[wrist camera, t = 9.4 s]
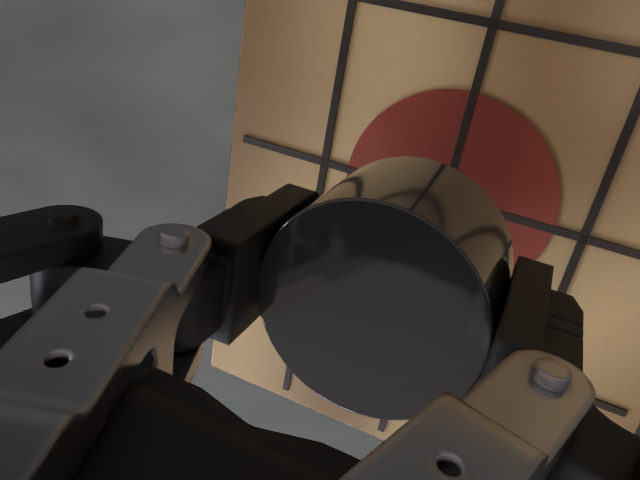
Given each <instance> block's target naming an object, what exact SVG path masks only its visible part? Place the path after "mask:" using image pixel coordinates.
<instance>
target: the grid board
mask: <svg viewBox="0 0 640 480" xmlns="http://www.w3.org/2000/svg"><path fill="white" fill-rule="evenodd" d="M403 156H410V157H421V158H426V159H431V160H435V161H438V162H441V163H444V164H446V165H449V166H451V167H453V168H455V169H457V170H459V171H461V172H462V173H464V174H465V175H467V176H468V177H470V178H471V179H472V180H474V181H475V182H476V183H477V184H478V185H479V186H481V187H482V188H483V189H484V190H485V192H486V193H487V194H488V195H489V196H490V197H491V198H492V199H493V201H494V202H495V204H496V205H497V207H498V208H499V210H500V211H501V213H502V215H503V217H504V219H505V221H506V224H507V227H508V229H509V232H510V235H511V240H512V246H513V260H514V263H513V269H514V267H515V264H516V261H517V259H518V256H519V255H520V256H523V257H526V258H530V259H533V260H536V261H539V262H542V263H546V264H549V265H552V266H554V270H553V278H552V286H551V289H552V290H555V291H558V292H562V293H565V294H568V295H571V296H573V297H574V298H575V300H576V301H577V303H578V304H579V306H580V307H581V309H582V310H583V311H584V320H583V373H584V374H585V375H586V376H587V377H588V378H589V380H590V381H591V382H592V384H593V386H594V388H595V392H596V398H595V400H594V402H593V404H594V405H595V406H596V407H597V408H598V409H599V410H600V411H601V412H602V413H603V414H604V415H605V416H607V417H608V418H609V419H611V420H612V421H613V422H615V423H616V424H618V425H620V426H621V427H623V428H624V429H626V430H628V431H630V432H631V433H633V434H635V432H636V430H637V429H638V427H639V425H640V0H245V11H244V21H243V32H242V42H241V53H240V63H239V74H238V85H237V95H236V106H235V116H234V127H233V137H232V148H231V158H230V169H229V179H228V190H227V201H226V210H227V209H228V208H232V206H234V205H235V204H237V203H239V202H241V201H242V200H244V199H248V198H253V197H258V196H262V195H263V196H268V195H269V194H271V193H273V192H274V191H276V190H278V189H279V188H281V187H283V186H284V185H286V184H288V183H290V184H293V185H297V186H300V187H303V188H306V189H309V190H313V191H316V192H318V193H319V197H320V196H321V195H323V194H324V193H325V192H327V191H328V190H330V189H331V188H332V187H334V186H335V185H336V184H338V183H339V182H341V181H342V180H343V179H345V178H346V177H347V176H349V175H350V174H352V173H353V172H354V171H356V170H357V169H359V168H361V167H363V166H365V165H367V164H369V163H372V162H375V161H378V160H381V159H386V158H391V157H403ZM512 272H513V271H512ZM211 365H212V366H214V367H216V368H218V369H221V370H223V371H225V372H227V373H230V374H232V375H234V376H237V377H239V378H241V379H244V380H246V381H248V382H251V383H253V384H255V385H257V386H260V387H262V388H264V389H267V390H269V391H271V392H274V393H276V394H278V395H280V396H283V397H285V398H287V399H290V400H292V401H294V402H297V403H299V404H301V405H303V406H306V407H308V408H310V409H313V410H315V411H317V412H320V413H322V414H324V415H327V416H329V417H331V418H333V419H336V420H338V421H340V422H343V423H345V424H347V425H350V426H352V427H354V428H356V429H359V430H361V431H363V432H366V433H368V434H370V435H373V436H375V437H377V438H379V439H382V440H384V441H385V440H386V439H387V438H388V437H389V436H391V435H392V434H393V433H394V432H395V431H396V430H398V429H399V428H400V427H401V426H402V425H404V424H405V423H406V422H407V421H408V420H383V419H376V418H371V417H367V416H363V415H359V414H356V413H353V412H350V411H348V410H345V409H343V408H341V407H339V406H337V405H335V404H332V403H331V402H329V401H327V400H326V399H324V398H322V397H321V396H319V395H318V394H316V393H315V392H314V391H312V390H311V389H310V388H308V387H307V386H306V385H305V384H304V383H303V382H302V381H301V380H299V379H298V378H297V377H296V376H295V375H294V373H293V372H292V371H291V370H290V369H289V368H288V367H287V366H286V364H285V363H284V362H283V360H282V359H281V357H280V356H279V355H278V353H277V351H276V350H275V348H274V346H273V345H272V343H271V341H270V339H269V336H268V334H267V332H266V330H265V327H264V324H263V321H262V318H261V315H260V316H259V317H258V318H257V319H256V320H255V321H254V322H253V323H252V324H251V325H250V326H249V327H248V328H247V329H246V330H245V331H244V332H243V333H242V334H240V335H239V336H238V337H237V338H236V339H235V340H234V341H233V342H232V343H231V344H230V345H229V346H228V345H226V344H224V343H221V342H219V341H217V340H214V339H213V348H212V359H211Z"/></svg>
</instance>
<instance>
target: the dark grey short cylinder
mask: <svg viewBox="0 0 640 480" xmlns="http://www.w3.org/2000/svg"><path fill="white" fill-rule="evenodd" d="M513 263H514V260H513V246H512V240H511V235H510V232H509V229H508V227H507V224H506V221H505V219H504V217H503V215H502V213H501V211H500V210H499V208H498V207H497V205H496V204H495V202H494V201H493V199H492V198H491V197H490V196H489V195H488V194H487V193H486V192H485V190H484V189H483V188H482V187H481V186H479V185H478V184H477V183H476V182H475V181H474V180H472V179H471V178H470V177H468V176H467V175H465V174H464V173H462V172H461V171H459V170H457V169H455V168H453V167H451V166H449V165H446V164H444V163H441V162H438V161H435V160H431V159H426V158H421V157H410V156H403V157H391V158H386V159H381V160H378V161H375V162H372V163H369V164H367V165H365V166H363V167H361V168H359V169H357V170H356V171H354V172H353V173H352V174H350V175H349V176H347V177H346V178H345V179H343V180H342V181H341V182H339V183H338V184H336V185H335V186H334V187H332V188H331V189H330V190H328V191H327V192H325V193H324V194H323V195H321V196H320V197H319V198H317V199H316V200H315V201H313V202H312V203H310V204H309V205H308V206H306V207H305V208H304V209H302V210H301V211H300V212H298V213H297V214H295V215H294V216H293V217H291V218H290V219H289V220H288V221H287V222H286V223H285V224H284V225H283V226H281V227H280V228H279V230H278V231H277V232H276V234H275V235H274V236H273V238H272V239H271V241H270V243H269V245H268V247H267V248H266V250H265V253H264V256H263V259H262V262H261V267H260V274H259V282H258V303H259V308H260V313H261V318H262V321H263V324H264V327H265V330H266V332H267V334H268V336H269V339H270V341H271V343H272V345H273V346H274V348H275V350H276V351H277V353H278V355H279V356H280V357H281V359H282V360H283V362H284V363H285V364H286V366H287V367H288V368H289V369H290V370H291V371H292V372H293V373H294V375H295V376H296V377H297V378H298V379H299V380H301V381H302V382H303V383H304V384H305V385H306V386H307V387H308V388H310V389H311V390H312V391H314V392H315V393H316V394H318V395H319V396H321V397H322V398H324V399H326V400H327V401H329V402H331V403H332V404H335V405H337V406H339V407H341V408H343V409H345V410H348V411H350V412H353V413H356V414H359V415H363V416H367V417H371V418H376V419H383V420H410V419H411V418H412V417H413V416H414V415H415V414H417V413H418V412H419V411H420V410H421V409H423V408H424V407H425V406H426V405H427V404H428V403H430V402H431V401H432V400H433V399H434V398H436V397H437V396H438V395H439V394H441V393H443V392H445V391H448V392H450V393H452V394H453V395H455V396H456V397H458V398H459V399H461V398H462V397H463V396H464V395H465V394H466V393H468V392H469V391H470V390H471V389H472V388H473V387H474V386H475V385H476V383H477V382H478V380H479V379H480V376H481V374H482V371H483V368H484V365H485V363H486V360H487V357H488V354H489V351H490V349H491V346H492V343H493V340H494V336H495V332H496V329H497V325H498V321H499V318H500V314H501V311H502V307H503V303H504V300H505V296H506V292H507V289H508V285H509V282H510V278H511V275H512V271H513Z"/></svg>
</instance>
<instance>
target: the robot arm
mask: <svg viewBox="0 0 640 480" xmlns="http://www.w3.org/2000/svg"><path fill="white" fill-rule="evenodd" d="M317 198H319V193H318V192H316V191H313V190H309V189H306V188H303V187H300V186H297V185H293V184H290V183H288V184H286V185H284V186H283V187H281V188H279V189H278V190H276V191H274V192H273V193H271V194H269V195H268V196H263V195H262V196H258V197H253V198H248V199H244V200H242V201H241V202H239V203H237V204H235V205H234V206H232V208H228V209H227V210H225V211H223V212H222V213H221V214H218V215H216V216H215V217H213V218H211V219H209V220H208V221H206V222H204V223H203V224H201V225H199V226H197V227H193V226H189V225H184V224H174V223H173V224H159V225H154V226H151V227H148V228H146V229H144V230H143V231H142V232H140V233H139V235H138V236H137V237H136V238H135V239H134V240H133V241H131V240H125V239H119V238H113V237H107V236H103V219H102V216H101V215H100V214H99V213H98V212H96V211H94V210H92V209H90V208H86V207H82V206H75V205H55V206H48V207H43V208H39V209H34V210H30V211H25V212H20V213H16V214H11V215H7V216H2V217H0V284H1V283H4V282H7V281H10V280H14V279H17V278H20V277H24V276H27V275H30V288H31V301H32V308H31V309H28V310H25V311H22V312H19V313H17V314H14V315H11V316H8V317H5V318H2V319H0V480H640V437H638V436H636V435H635V434H633V433H631V432H630V431H628V430H626V429H624V428H623V427H621V426H620V425H618V424H616V423H615V422H613V421H612V420H611V419H609V418H608V417H607V416H605V415H604V414H603V413H602V412H601V411H600V410H599V409H598V408H597V407H596V406H595V405H594V404H593V402H594V400H595V398H596V392H595V388H594V386H593V384H592V382H591V381H590V380H589V378H588V377H587V376H586V375H585V374H584V373H583V320H584V311H583V310H582V309H581V307H580V306H579V304H578V303H577V301H576V300H575V298H574V297H573V296H571V295H568V294H565V293H562V292H558V291H555V290H552V289H551V286H552V278H553V270H554V266H552V265H549V264H546V263H542V262H539V261H536V260H533V259H530V258H526V257H523V256H520V255H519V256H518V259H517V261H516V264H515V267H514V269H513V272H512V275H511V278H510V282H509V285H508V289H507V292H506V296H505V300H504V303H503V307H502V311H501V314H500V318H499V321H498V325H497V329H496V332H495V336H494V340H493V343H492V346H491V349H490V351H489V354H488V357H487V360H486V363H485V365H484V368H483V371H482V374H481V376H480V379H479V380H478V382H477V383H476V385H475V386H474V387H473V388H472V389H471V390H470V391H469V392H468V393H466V394H465V395H464V396H463V397H462V398H461V399H459V398H458V397H456V396H455V395H453V394H452V393H450V392H448V391H445V392H443V393H441V394H439V395H438V396H437V397H436V398H434V399H433V400H432V401H431V402H430V403H428V404H427V405H426V406H425V407H424V408H423V409H421V410H420V411H419V412H418V413H417V414H415V415H414V416H413V417H412V418H411V419H410V420H408V421H407V422H406V423H405V424H404V425H402V426H401V427H400V428H399V429H398V430H396V431H395V432H394V433H393V434H392V435H391V436H389V437H388V438H387V439H386V440H385V441H383V442H382V443H381V444H380V445H379V446H378V447H376V448H375V449H374V450H373V451H372V452H370V453H369V454H368V455H367V456H366V457H365V458H363V459H362V460H359V459H357V458H355V457H352V456H350V455H348V454H346V453H344V452H341V451H339V450H337V449H335V448H333V447H330V446H328V445H326V444H324V443H321V442H317V441H313V440H308V439H304V438H300V437H295V436H291V435H287V434H283V433H278V432H274V431H270V430H265V429H261V428H257V427H254V426H251V425H249V424H248V423H246V422H245V421H243V420H242V419H241V418H240V417H238V416H237V415H236V414H234V413H233V412H232V411H231V410H229V409H228V408H227V407H225V406H224V405H223V404H221V403H220V402H219V401H218V400H216V399H215V398H214V397H212V396H211V395H210V394H209V393H207V392H206V391H205V390H203V389H202V388H200V387H198V386H196V385H193V384H191V381H192V378H193V376H194V374H195V372H196V369H197V367H198V365H199V363H200V360H201V358H202V350H203V342H204V341H206V340H207V339H208V338H212V339H214V340H217V341H219V342H221V343H224V344H226V345H228V346H229V345H230V344H231V343H232V342H233V341H234V340H235V339H236V338H237V337H238V336H239V335H240V334H242V333H243V332H244V331H245V330H246V329H247V328H248V327H249V326H250V325H251V324H252V323H253V322H254V321H255V320H256V319H257V318H258V317H259V316H260V315H261V313H260V308H259V303H258V282H259V274H260V267H261V262H262V259H263V256H264V253H265V250H266V248H267V247H268V245H269V243H270V241H271V239H272V238H273V236H274V235H275V234H276V232H277V231H278V230H279V228H280V227H281V226H283V225H284V224H285V223H286V222H287V221H288V220H289V219H290V218H291V217H293V216H294V215H295V214H297V213H298V212H300V211H301V210H302V209H304V208H305V207H306V206H308V205H309V204H310V203H312V202H313V201H315V200H316V199H317Z"/></svg>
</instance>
